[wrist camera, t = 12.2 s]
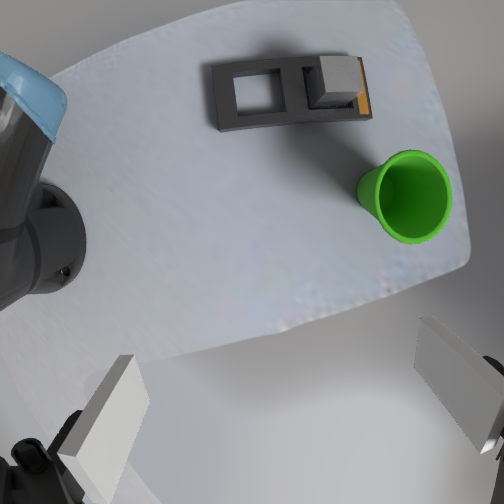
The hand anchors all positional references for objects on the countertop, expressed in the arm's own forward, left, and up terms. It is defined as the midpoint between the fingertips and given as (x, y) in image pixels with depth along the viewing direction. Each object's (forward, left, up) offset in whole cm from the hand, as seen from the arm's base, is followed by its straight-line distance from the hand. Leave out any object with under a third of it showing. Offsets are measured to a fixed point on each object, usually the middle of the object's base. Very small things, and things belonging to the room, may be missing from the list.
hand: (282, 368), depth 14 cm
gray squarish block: (+10, +18, -27) cm, 34 cm away
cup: (+15, +5, -27) cm, 31 cm away
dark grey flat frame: (+6, +18, -27) cm, 33 cm away
